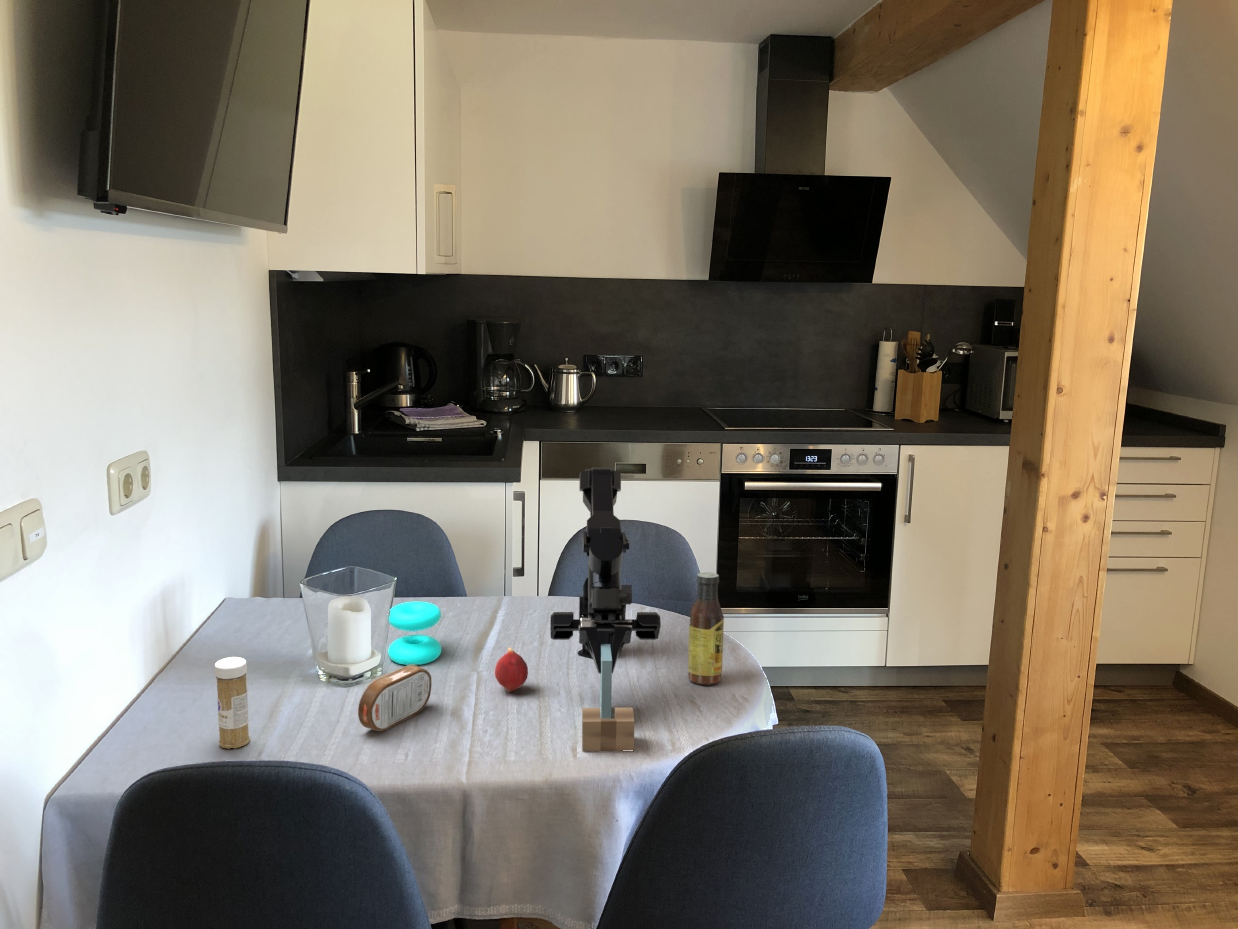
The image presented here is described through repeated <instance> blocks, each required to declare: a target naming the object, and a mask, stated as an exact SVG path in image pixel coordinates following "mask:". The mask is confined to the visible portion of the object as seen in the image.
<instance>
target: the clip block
mask: <svg viewBox="0 0 1238 929" xmlns="http://www.w3.org/2000/svg"><path fill="white" fill-rule="evenodd" d="M581 710H582V712H581V716H582V717H581V749H582V750H581V751H619V752H624V751H623V750H634V751H635V715H634V708H633V707H614V718H611V719H601V715H600V707H582V709H581Z"/></svg>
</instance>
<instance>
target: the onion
mask: <svg viewBox="0 0 1238 929" xmlns="http://www.w3.org/2000/svg"><path fill="white" fill-rule="evenodd" d="M494 669H495V670H494V677H495V679H496V681H497V682H498V684H499V685H500V686H502V687H503V688H504V689H505V690H506V691H508V692H514V691H516V690H518V689H519V688H520V687H521V686H522V685H524V684H525V683H526V681H527V679H528V674H529V668H528V664H527V662H526V661H525V660H524V658H523V656H521V655H520V654H518V653H517V652H515V651H514V650H513V648H511V647H508V648H507V653H504V655H503V656H501V657H500V658H499V659H498V661H497V662H496V665H495V668H494Z"/></svg>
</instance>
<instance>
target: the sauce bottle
mask: <svg viewBox="0 0 1238 929" xmlns="http://www.w3.org/2000/svg"><path fill="white" fill-rule="evenodd" d="M719 583H720V575H719V574H718V573H715V572H708V571H707V572H699V573H697V574H696V584H697V592H696V593H697V594H696V600H695V601H694V603H693V604H692V606H691V608H690V613H689V615H690V618H689V625H688V626H689V628H688V656H687V657H688V658H687V659H688V661H687V662H688V663H687V671H688V675H687V677H688V679H689V681H691V682H692V683H695V684H697V685H703V686H704V685H707V686H710V685H715V684H717V683H719V682H720V681H721V678H722V673H723V653H724V652H723V651H724V622H725V621H724V620H725V617H724V614H723V611H722V608H721V604H720V601H719V594H718V593H719V592H718V591H719V590H718V589H719Z"/></svg>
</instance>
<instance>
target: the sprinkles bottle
mask: <svg viewBox="0 0 1238 929" xmlns="http://www.w3.org/2000/svg"><path fill="white" fill-rule="evenodd" d="M247 665H248V664H247V660H246V659H245V658H243V657H238V656H230V657H225V658H222V659H221V658H220V659H219V660H217V661H216V662H215V664H214V675H215V678H216V688H217V689H216V690H217V699H216V700H217V717H218V718H217V719H218V721H217V722H218V728H219V729H218V732H219V740H218V744H219V746H220V748H223V749H226V748H227V749H229V750H231V749H230V748H234V749H239V748H242V747H243V746H246V745H248V744H249V742H250V740H251V739H250V736H249V733H250V732H249V704H248V700H249V699H248V688H247V687H248V686H247V671H248V666H247ZM241 746H242V747H241Z"/></svg>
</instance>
